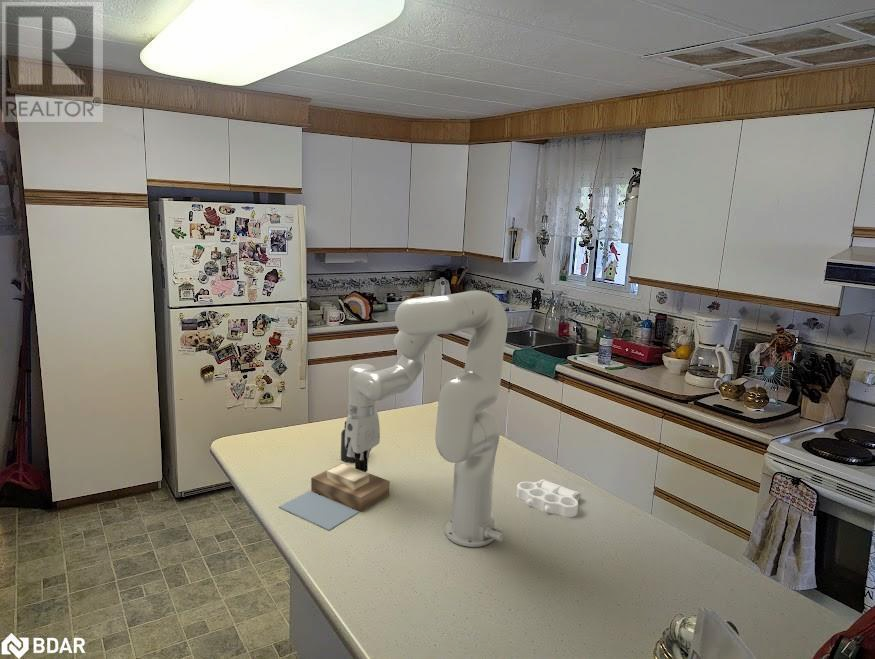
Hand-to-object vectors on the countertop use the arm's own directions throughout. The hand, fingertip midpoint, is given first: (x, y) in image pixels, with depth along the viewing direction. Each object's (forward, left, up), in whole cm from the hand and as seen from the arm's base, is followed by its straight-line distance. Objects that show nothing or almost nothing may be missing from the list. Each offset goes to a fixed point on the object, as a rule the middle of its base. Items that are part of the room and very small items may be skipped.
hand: (361, 470), depth 167 cm
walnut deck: (0, +4, -5) cm, 7 cm away
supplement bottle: (+15, -13, -5) cm, 20 cm away
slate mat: (0, +16, -5) cm, 17 cm away
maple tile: (0, +5, 0) cm, 5 cm away
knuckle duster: (-46, -26, -6) cm, 53 cm away
